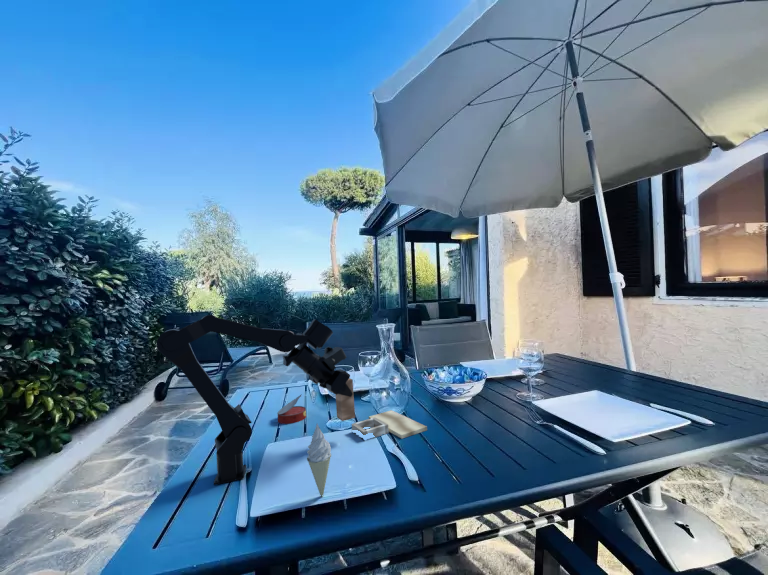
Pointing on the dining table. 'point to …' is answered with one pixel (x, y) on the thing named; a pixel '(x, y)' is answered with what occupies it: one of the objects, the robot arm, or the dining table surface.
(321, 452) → the ice cream cone
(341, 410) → the peg
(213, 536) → the dining table surface
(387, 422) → the socket
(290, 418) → the canned food
